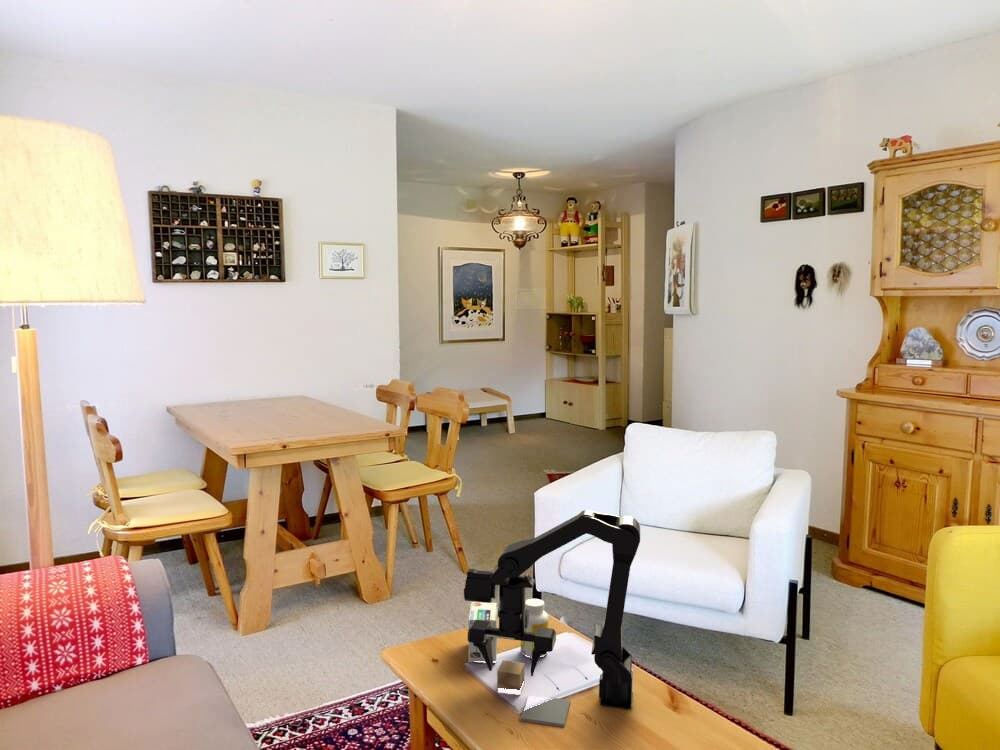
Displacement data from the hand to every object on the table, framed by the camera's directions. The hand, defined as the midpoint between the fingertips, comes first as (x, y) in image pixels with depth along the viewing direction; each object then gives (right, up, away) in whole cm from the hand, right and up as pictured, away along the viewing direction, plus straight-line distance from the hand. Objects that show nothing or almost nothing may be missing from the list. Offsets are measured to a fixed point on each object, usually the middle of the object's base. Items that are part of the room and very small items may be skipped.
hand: (511, 672), depth 157 cm
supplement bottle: (+6, -2, +16) cm, 18 cm away
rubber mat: (+7, -5, -8) cm, 12 cm away
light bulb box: (-7, -2, +16) cm, 18 cm away
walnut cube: (0, -4, 0) cm, 4 cm away
